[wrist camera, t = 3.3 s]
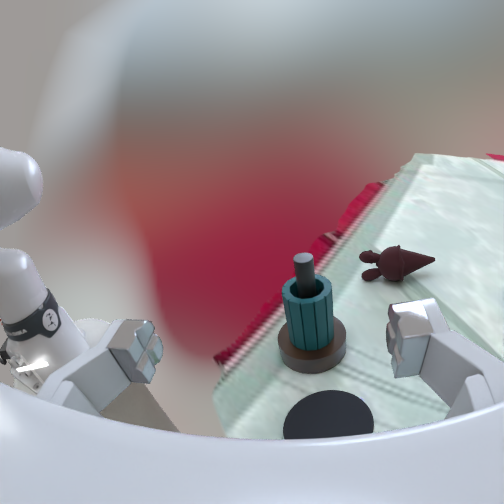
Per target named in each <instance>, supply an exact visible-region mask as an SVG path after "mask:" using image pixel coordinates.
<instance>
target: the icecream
mask: <svg viewBox="0 0 504 504" xmlns="http://www.w3.org/2000/svg"><path fill="white" fill-rule="evenodd" d="M359 258H360V260H361V261H362V262H364V263H371V264H372V263H376V266H377V267H378V268H374V269H369V270H366V271H364V272H363V273H362V279H363V280H365V281H368V280H374V279H376V278H378V277H380V276H381V275H382V276H383V277H385V278H386V279H388V280H391V281H397V280H401V281H403V280H404V277H403V276H406V275H408V274H410V273H412V272H414V271H416V270H418V269H420V268H422V267H424V266H426V265H428V264H430V263H432V262H434V261H435V258H433V257H430V256H426V255H422V254H418V253H415V252H411V251H407V250H403V249H400V245H398V246H397V247H396V246H393V247H389V248H387V249H385V250H384V251H383V252H382V253H381V254H377V253H373V252H372V251H371V250H369V251H364V252H362V253H361V254H360V256H359Z"/></svg>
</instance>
